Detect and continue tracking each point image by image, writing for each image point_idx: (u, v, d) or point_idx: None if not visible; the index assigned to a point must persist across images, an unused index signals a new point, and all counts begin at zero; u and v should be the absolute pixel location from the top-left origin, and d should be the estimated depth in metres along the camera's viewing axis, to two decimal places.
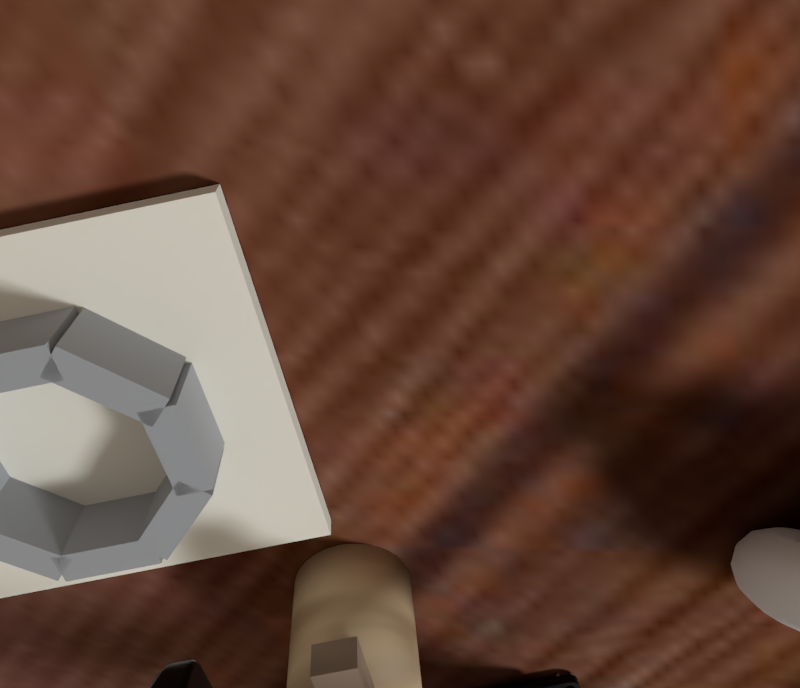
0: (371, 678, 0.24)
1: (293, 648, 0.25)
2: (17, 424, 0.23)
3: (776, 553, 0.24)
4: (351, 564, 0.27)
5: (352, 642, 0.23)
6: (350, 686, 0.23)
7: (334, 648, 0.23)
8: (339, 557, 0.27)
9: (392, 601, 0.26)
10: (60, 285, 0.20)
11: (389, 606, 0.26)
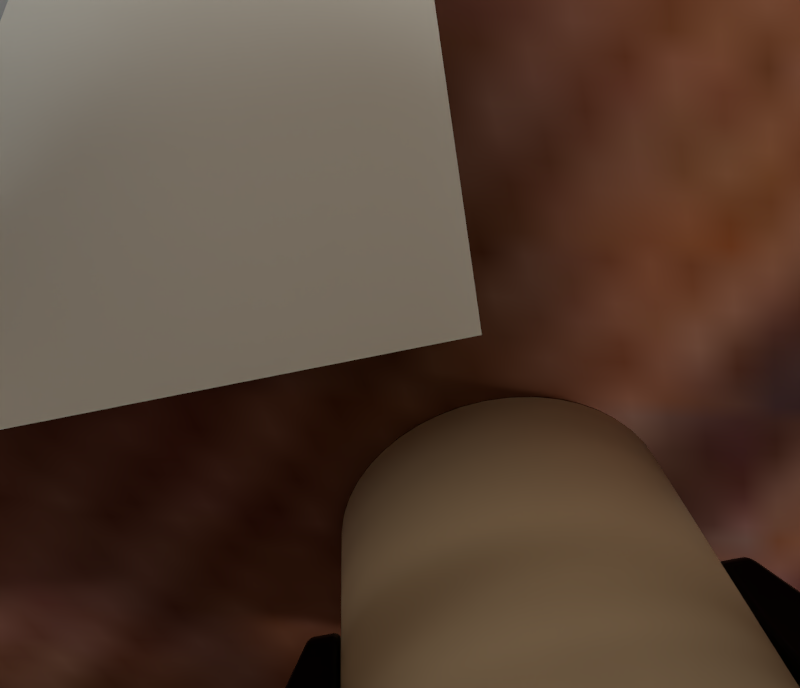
0: None
1: None
2: None
3: None
4: (541, 448, 0.08)
5: None
6: None
7: None
8: (496, 430, 0.09)
9: (710, 566, 0.07)
10: None
11: (714, 582, 0.07)
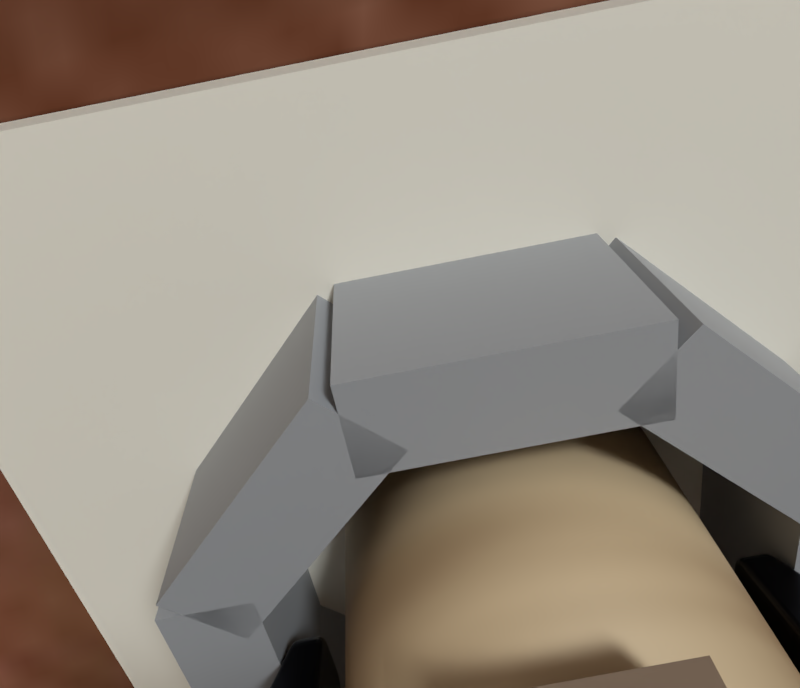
0: None
1: None
2: None
3: None
4: None
5: (701, 687, 0.05)
6: None
7: None
8: None
9: (698, 532, 0.08)
10: (149, 500, 0.10)
11: (700, 547, 0.07)
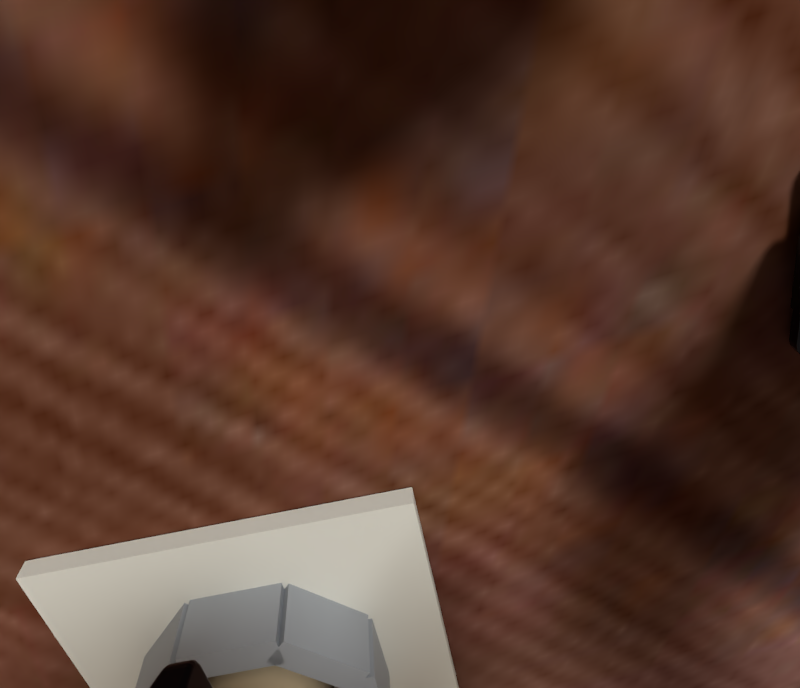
0: None
1: None
2: None
3: None
4: None
5: None
6: None
7: None
8: None
9: None
10: (126, 666, 0.26)
11: None
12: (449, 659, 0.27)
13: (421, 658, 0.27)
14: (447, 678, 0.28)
